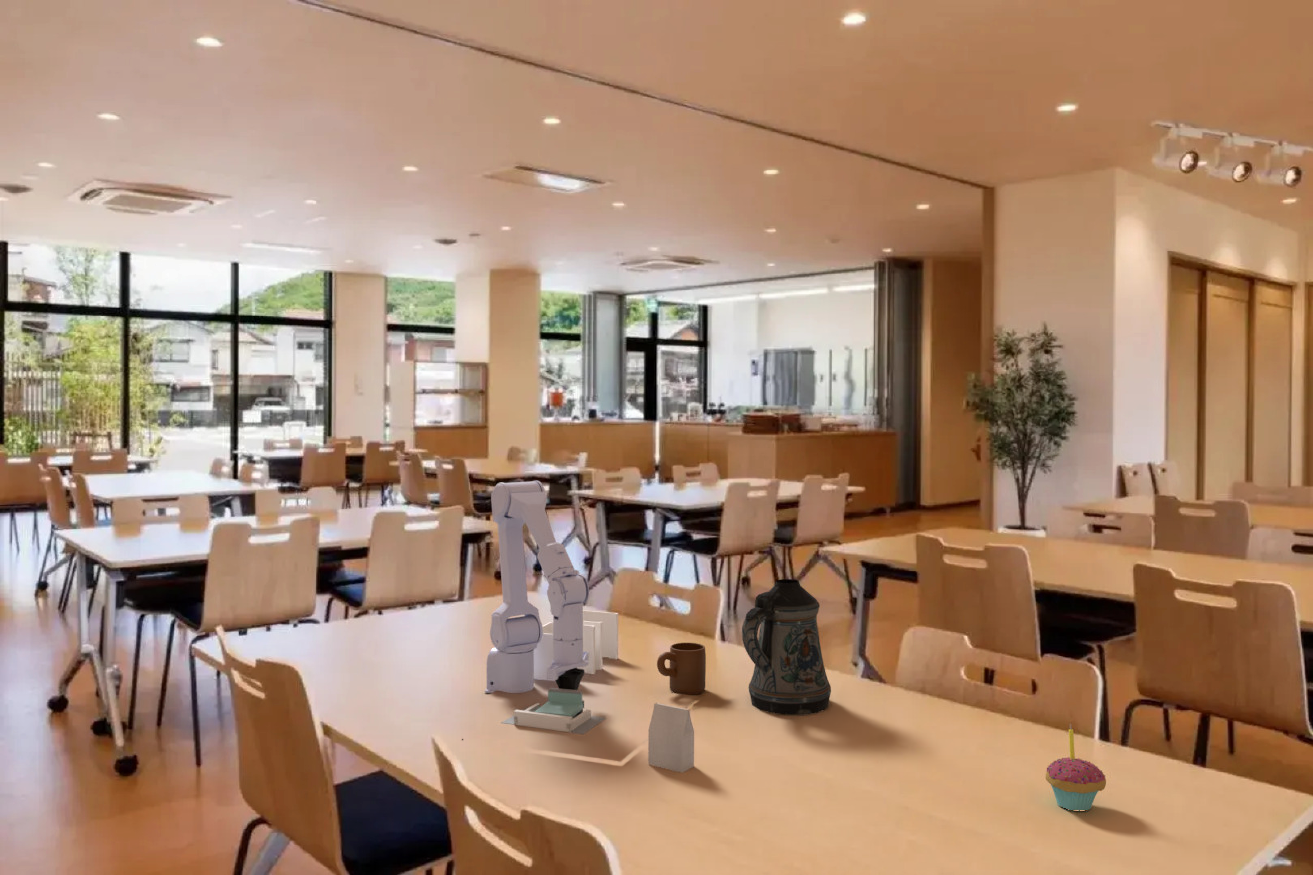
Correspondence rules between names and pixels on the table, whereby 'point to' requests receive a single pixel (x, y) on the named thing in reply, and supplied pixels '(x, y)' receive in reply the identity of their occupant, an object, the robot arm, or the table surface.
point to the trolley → (563, 702)
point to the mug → (685, 668)
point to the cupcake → (1075, 780)
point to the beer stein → (786, 652)
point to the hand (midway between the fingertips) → (568, 707)
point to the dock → (554, 720)
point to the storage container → (596, 641)
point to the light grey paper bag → (671, 738)
